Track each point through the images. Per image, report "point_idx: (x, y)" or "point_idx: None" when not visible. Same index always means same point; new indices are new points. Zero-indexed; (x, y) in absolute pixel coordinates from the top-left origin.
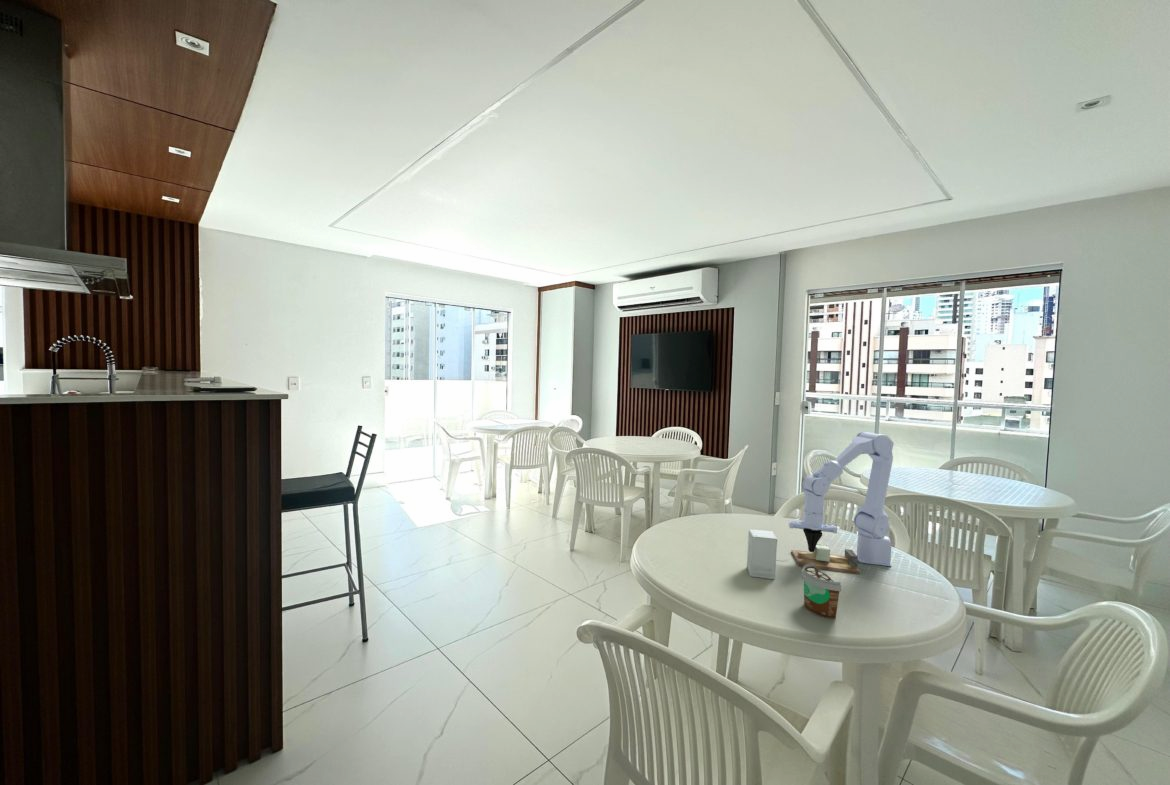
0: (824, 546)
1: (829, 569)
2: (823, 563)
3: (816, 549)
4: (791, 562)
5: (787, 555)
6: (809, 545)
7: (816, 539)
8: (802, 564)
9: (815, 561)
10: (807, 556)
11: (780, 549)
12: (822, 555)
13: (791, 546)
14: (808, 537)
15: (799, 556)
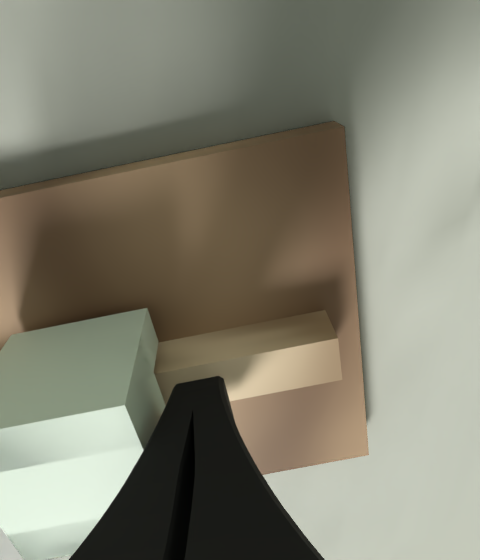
0: (40, 516)
1: (2, 192)
2: (70, 274)
3: (137, 407)
4: (398, 193)
5: (407, 354)
6: (235, 429)
7: (116, 551)
8: (297, 135)
9: (155, 285)
10: (240, 340)
11: (443, 446)
12: (69, 357)
13: (343, 533)
14: (280, 543)
15: (320, 316)
